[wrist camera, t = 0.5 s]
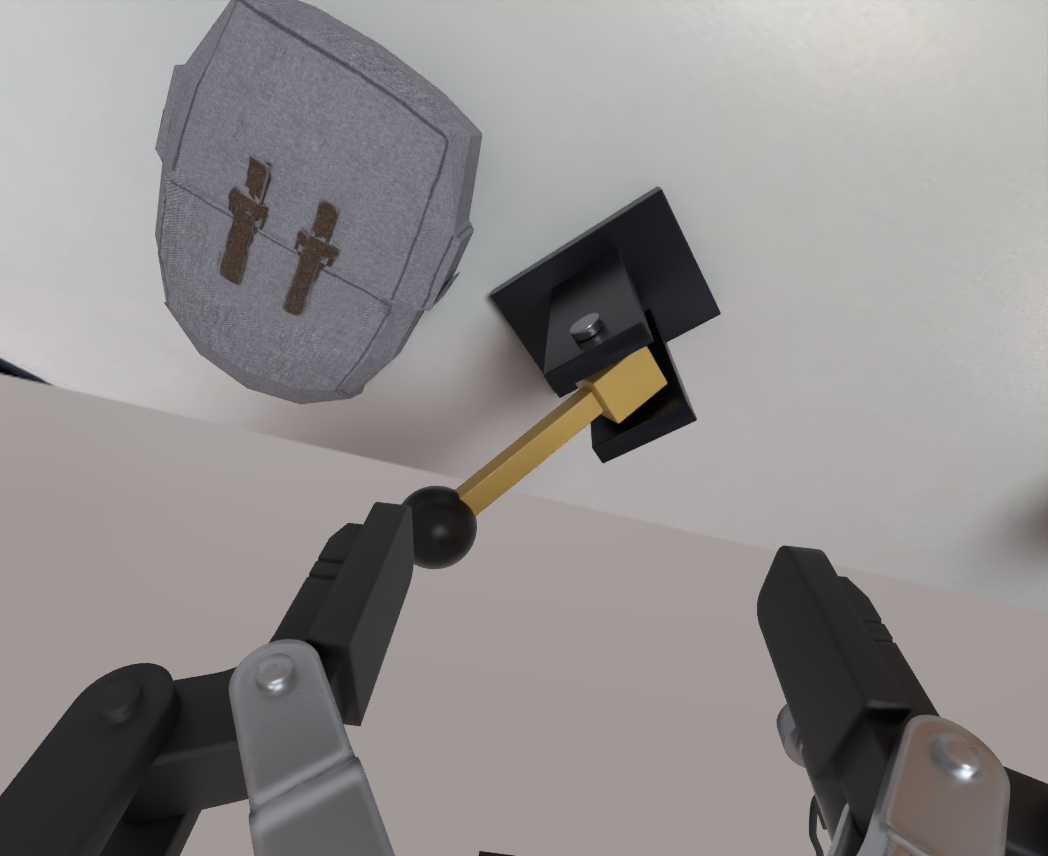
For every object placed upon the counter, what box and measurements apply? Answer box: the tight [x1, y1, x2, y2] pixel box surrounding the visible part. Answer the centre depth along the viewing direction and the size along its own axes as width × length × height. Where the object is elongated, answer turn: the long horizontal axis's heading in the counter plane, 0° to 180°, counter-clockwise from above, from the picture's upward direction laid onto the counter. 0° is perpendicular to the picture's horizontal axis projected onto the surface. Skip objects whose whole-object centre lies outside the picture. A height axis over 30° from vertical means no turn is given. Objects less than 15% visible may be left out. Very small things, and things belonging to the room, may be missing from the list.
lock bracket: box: [491, 187, 721, 463], centre depth 27 cm, size 11×8×13 cm
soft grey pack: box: [155, 0, 482, 404], centre depth 28 cm, size 15×8×20 cm
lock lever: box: [401, 346, 667, 569], centre depth 23 cm, size 13×3×3 cm, turn 123°
